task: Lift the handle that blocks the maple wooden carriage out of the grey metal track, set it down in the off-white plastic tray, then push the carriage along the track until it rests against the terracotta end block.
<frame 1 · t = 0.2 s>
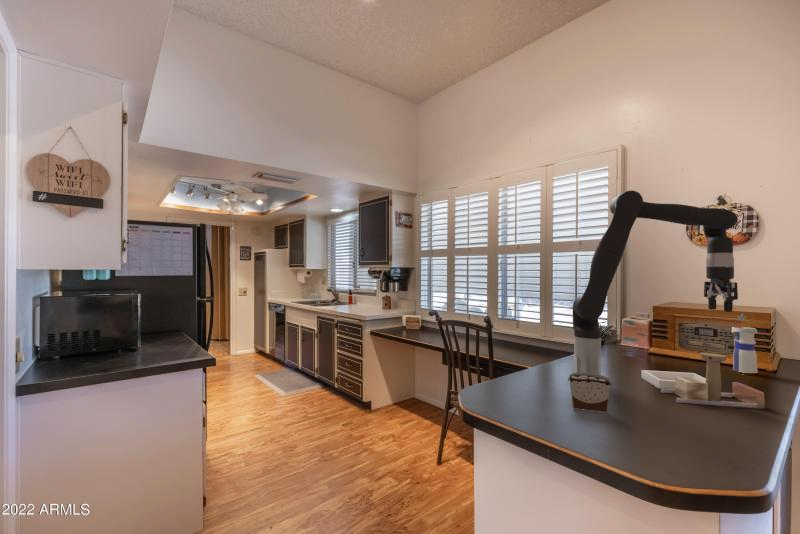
hand: (719, 310, 130), 29 cm above the worktop, tool pointing down, fingers open, 8 cm apart
track: (709, 399, 119), on the worktop
food container: (588, 407, 112), on the worktop
carriage: (691, 388, 121), point 3 cm above the worktop, slide at 0.0 cm
water bottle: (744, 373, 154), on the worktop
tray: (677, 385, 135), on the worktop
handle: (713, 400, 119), resting in track
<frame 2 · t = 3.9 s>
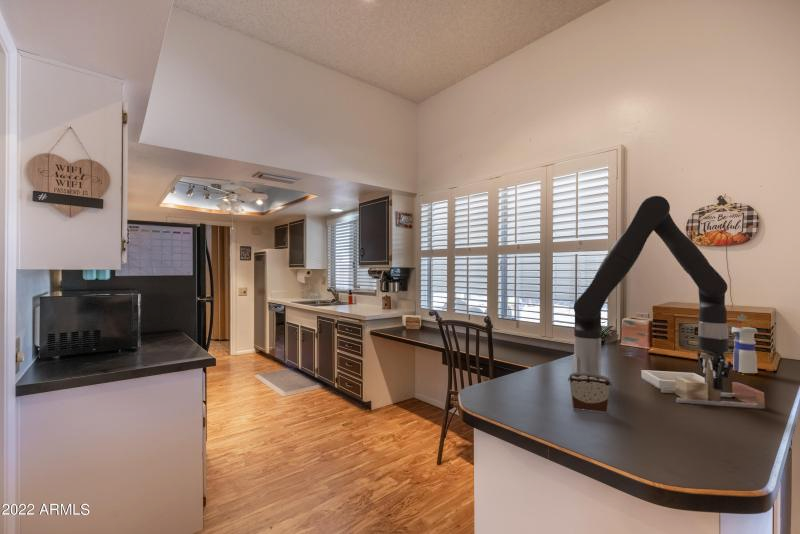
hand: (713, 387, 119), 4 cm above the worktop, tool pointing down, fingers closed on handle, 4 cm apart
handle: (713, 400, 119), resting in track, touching gripper
everything else where it was.
when the fingers open (7 cm above the worktop, at t = 11.4 s): handle drops 2 cm, resting on tray.
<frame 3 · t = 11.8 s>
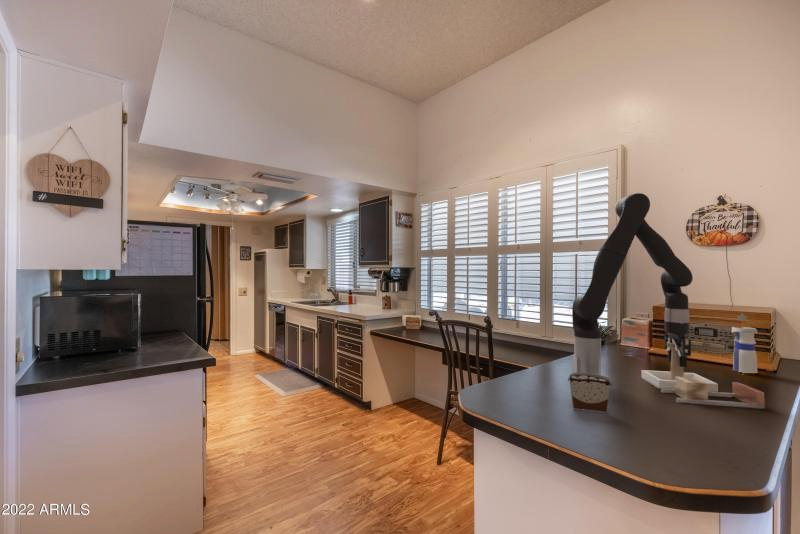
hand: (677, 364, 136), 8 cm above the worktop, tool pointing down, fingers open, 7 cm apart
handle: (677, 383, 135), resting on tray
everything else where it was.
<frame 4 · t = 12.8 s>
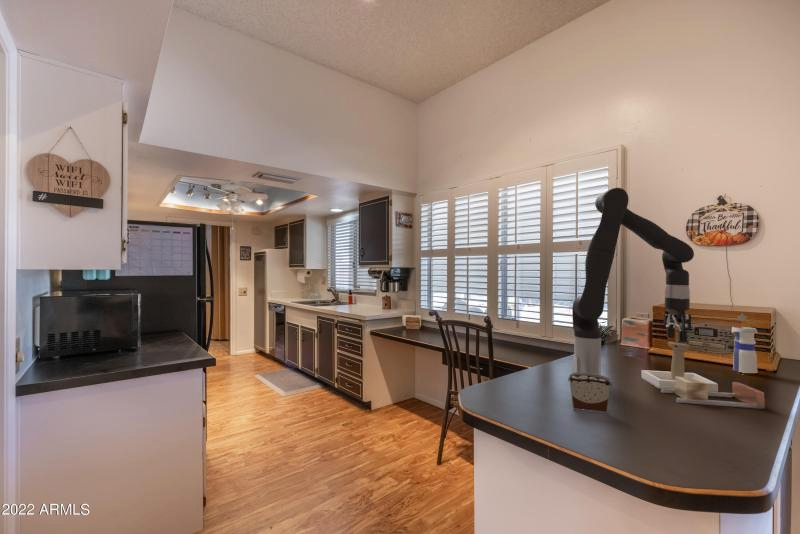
hand: (676, 339, 136), 17 cm above the worktop, tool pointing down, fingers open, 8 cm apart
nothing on the worktop moved.
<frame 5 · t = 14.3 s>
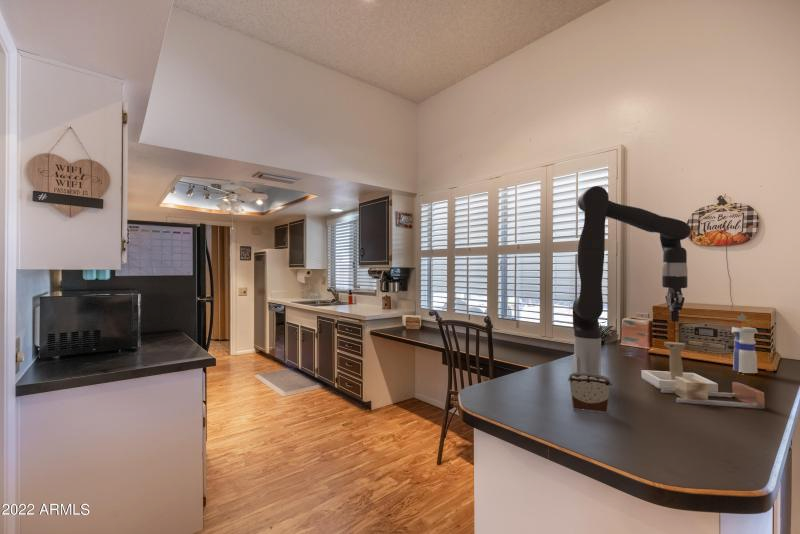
hand: (674, 321, 134), 24 cm above the worktop, tool pointing down, fingers closed
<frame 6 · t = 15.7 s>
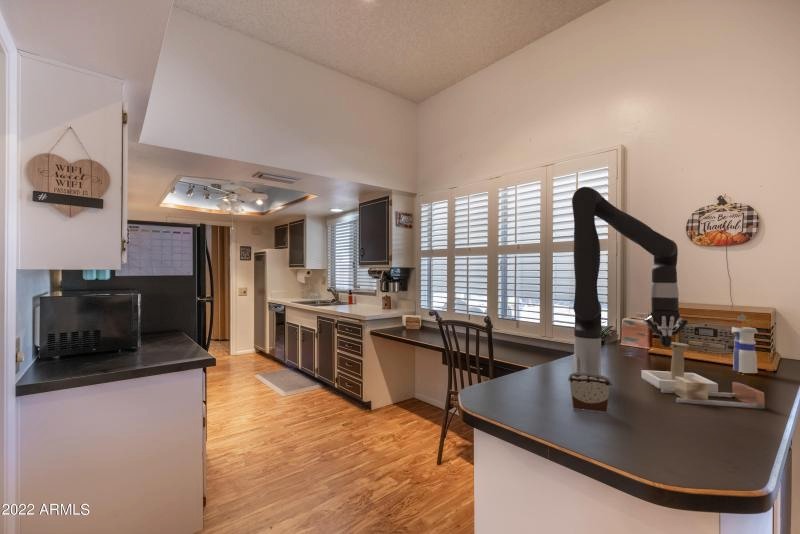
hand: (665, 346, 123), 17 cm above the worktop, tool pointing down, fingers closed
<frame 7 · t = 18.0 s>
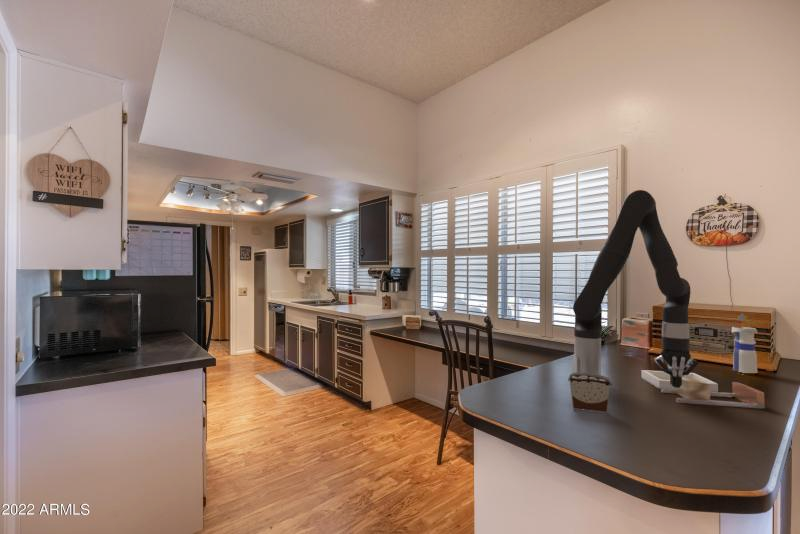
hand: (675, 386, 121), 4 cm above the worktop, tool pointing down, fingers closed
carriage: (693, 389, 121), point 3 cm above the worktop, slide at 0.6 cm, touching gripper
everything else where it was.
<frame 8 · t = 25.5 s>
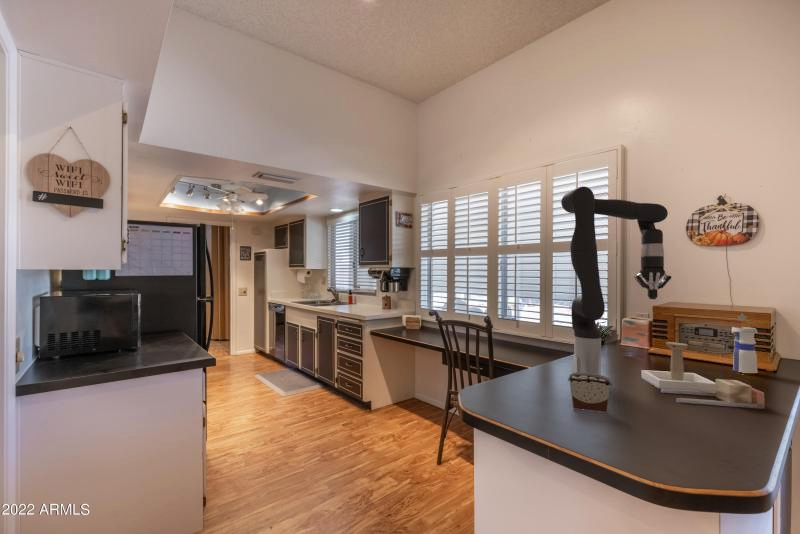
hand: (652, 299, 142), 32 cm above the worktop, tool pointing down, fingers closed
carriage: (733, 391, 118), point 3 cm above the worktop, slide at 12.0 cm
everything else where it was.
at the end: handle inside the target area on the tray (0.0 cm from its centre), point 0.4 cm above the tray's base; carriage slide at 12.0 cm; the gripper is holding nothing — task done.
